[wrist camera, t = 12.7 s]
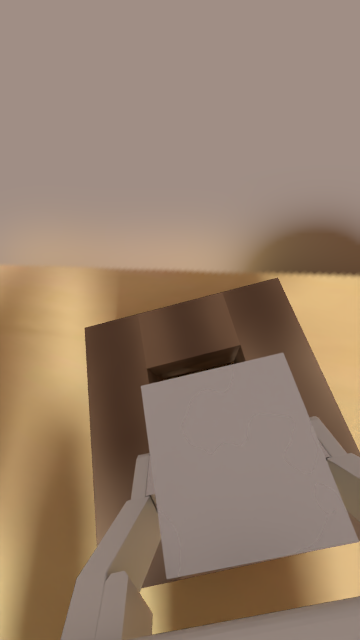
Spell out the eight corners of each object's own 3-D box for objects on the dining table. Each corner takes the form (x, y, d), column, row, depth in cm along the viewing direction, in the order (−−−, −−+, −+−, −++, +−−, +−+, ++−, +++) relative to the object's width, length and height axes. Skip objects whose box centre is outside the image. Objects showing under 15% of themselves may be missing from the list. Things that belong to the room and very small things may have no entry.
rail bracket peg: (198, 471, 14) (166, 579, 5) (184, 402, 16) (140, 386, 6) (262, 457, 14) (359, 541, 5) (242, 389, 15) (283, 352, 6)
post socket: (134, 540, 18) (99, 597, 12) (113, 347, 24) (84, 327, 19) (338, 495, 17) (397, 532, 12) (262, 309, 24) (277, 277, 18)
